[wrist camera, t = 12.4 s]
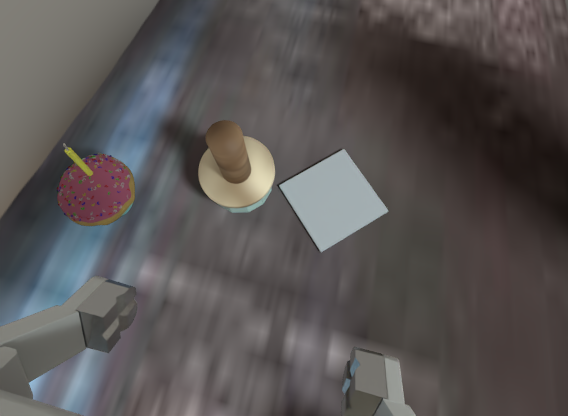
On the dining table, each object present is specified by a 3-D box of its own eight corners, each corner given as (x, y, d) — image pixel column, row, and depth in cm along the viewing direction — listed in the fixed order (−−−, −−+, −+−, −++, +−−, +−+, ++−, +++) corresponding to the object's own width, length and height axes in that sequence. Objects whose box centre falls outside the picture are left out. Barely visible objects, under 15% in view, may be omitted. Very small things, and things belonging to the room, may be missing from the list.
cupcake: (99, 164, 44) (33, 114, 33) (159, 179, 44) (113, 133, 32) (71, 225, 42) (-10, 194, 31) (134, 241, 41) (76, 216, 30)
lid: (251, 126, 42) (243, 81, 33) (288, 184, 40) (289, 151, 31) (187, 160, 41) (161, 122, 32) (221, 222, 38) (202, 198, 30)
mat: (343, 150, 45) (343, 148, 44) (387, 212, 42) (388, 211, 42) (279, 186, 43) (279, 185, 43) (320, 252, 41) (321, 251, 40)
